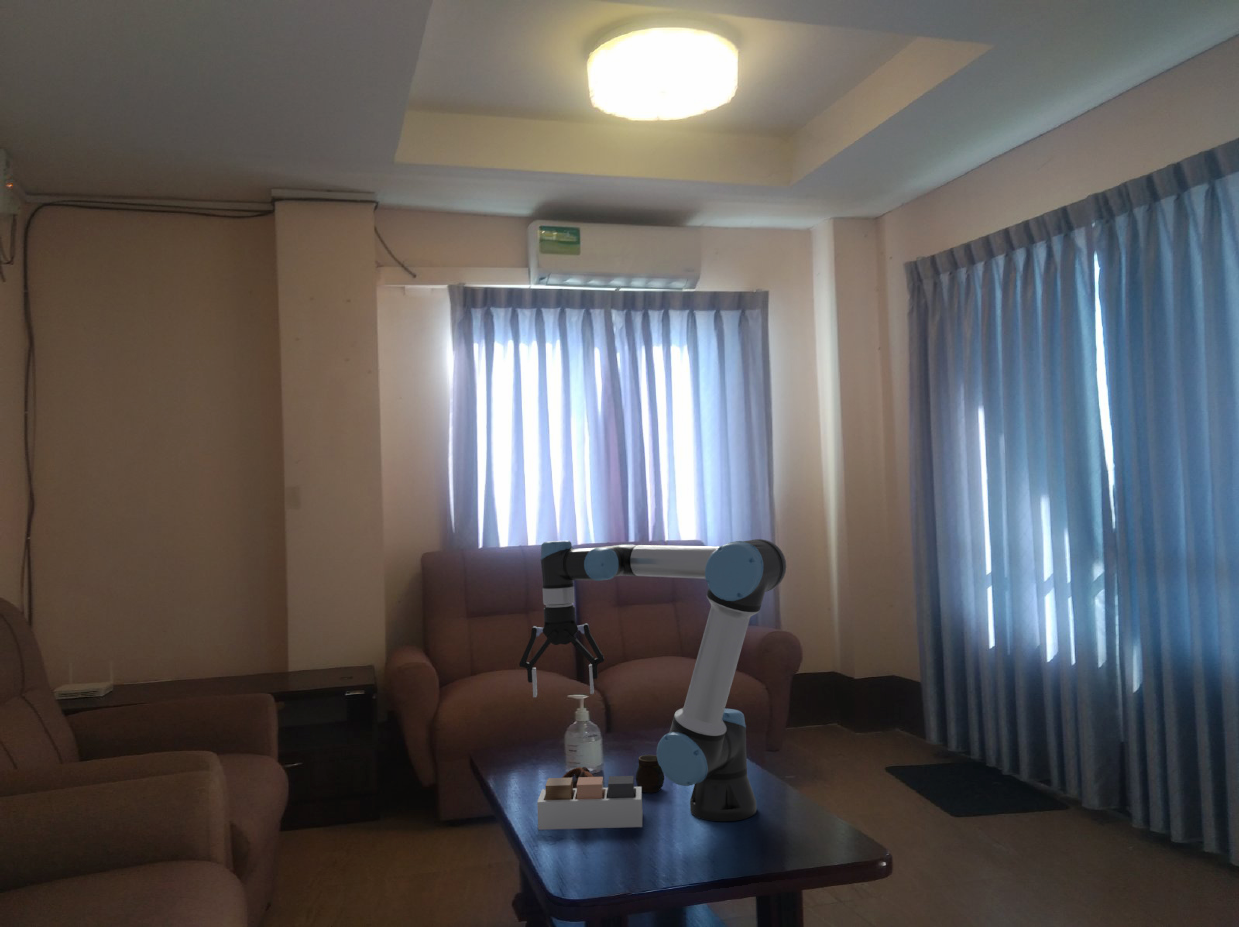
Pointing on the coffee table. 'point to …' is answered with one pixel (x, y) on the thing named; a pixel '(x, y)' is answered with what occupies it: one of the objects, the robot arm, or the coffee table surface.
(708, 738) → the robot arm
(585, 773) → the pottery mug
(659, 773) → the mate gourd
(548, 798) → the walnut key
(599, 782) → the terracotta key
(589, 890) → the coffee table surface
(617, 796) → the black rubber key
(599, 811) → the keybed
